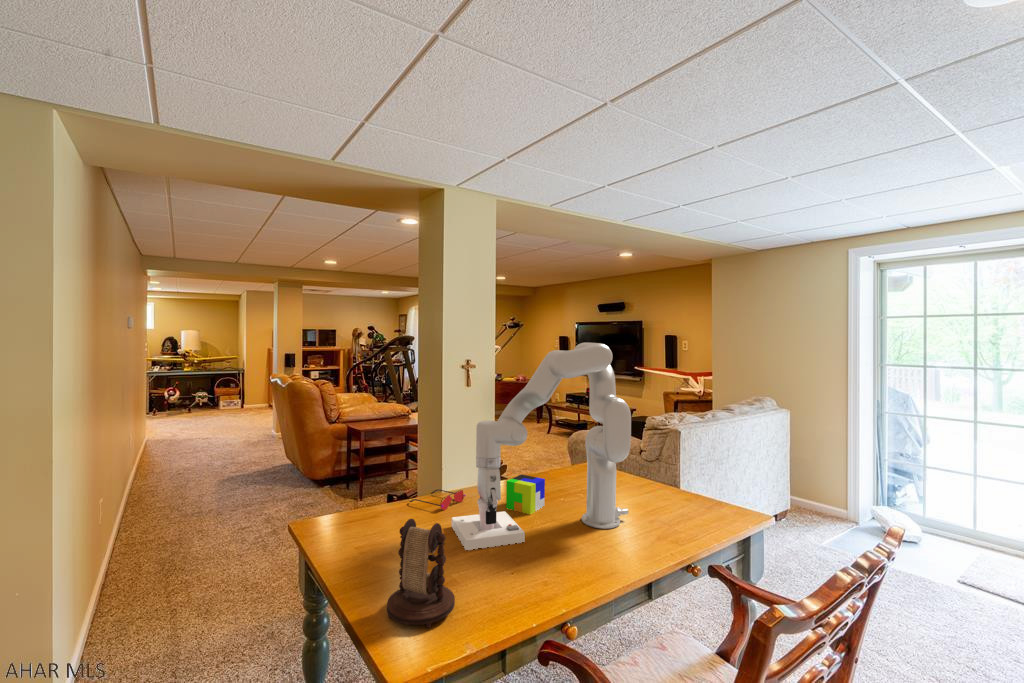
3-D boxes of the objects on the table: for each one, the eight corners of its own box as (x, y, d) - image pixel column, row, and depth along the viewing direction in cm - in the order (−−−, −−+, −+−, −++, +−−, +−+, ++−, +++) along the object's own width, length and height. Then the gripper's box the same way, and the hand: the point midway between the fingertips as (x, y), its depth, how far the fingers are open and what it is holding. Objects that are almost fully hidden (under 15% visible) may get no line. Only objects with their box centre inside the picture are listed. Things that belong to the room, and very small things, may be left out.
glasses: (442, 514, 166) (442, 499, 166) (406, 504, 174) (406, 491, 174) (466, 502, 178) (466, 488, 178) (431, 494, 186) (431, 481, 186)
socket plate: (504, 520, 160) (504, 509, 160) (524, 542, 143) (524, 530, 143) (451, 526, 154) (451, 515, 154) (465, 550, 137) (466, 538, 137)
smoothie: (500, 529, 150) (500, 484, 150) (493, 536, 144) (493, 490, 144) (481, 526, 152) (482, 482, 152) (473, 534, 146) (473, 488, 146)
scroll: (372, 622, 102) (373, 528, 102) (410, 588, 116) (412, 506, 116) (433, 638, 97) (434, 540, 97) (465, 601, 111) (467, 515, 110)
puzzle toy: (544, 506, 174) (544, 478, 173) (530, 515, 165) (530, 486, 165) (520, 501, 179) (521, 474, 179) (506, 509, 170) (506, 480, 170)
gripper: (509, 467, 141) (508, 528, 141) (491, 453, 157) (490, 508, 158) (484, 469, 139) (484, 532, 139) (469, 455, 155) (468, 511, 155)
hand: (487, 519), depth 148 cm, fingers closed on smoothie, 6 cm apart
